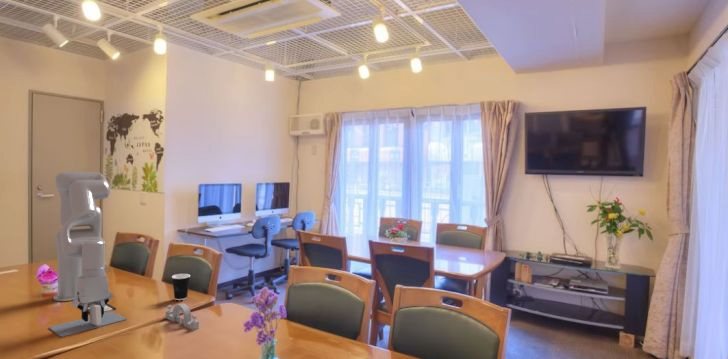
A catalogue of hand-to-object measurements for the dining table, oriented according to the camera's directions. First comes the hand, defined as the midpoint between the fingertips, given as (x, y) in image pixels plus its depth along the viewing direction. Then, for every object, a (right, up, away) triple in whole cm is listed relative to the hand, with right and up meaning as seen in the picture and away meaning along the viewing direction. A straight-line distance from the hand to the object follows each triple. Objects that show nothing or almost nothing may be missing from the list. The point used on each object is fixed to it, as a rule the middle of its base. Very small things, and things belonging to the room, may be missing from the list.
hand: (92, 318), depth 158 cm
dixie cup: (+20, -2, +31) cm, 37 cm away
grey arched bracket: (+33, -4, +3) cm, 33 cm away
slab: (0, +2, 0) cm, 2 cm away
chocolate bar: (-11, -2, +18) cm, 21 cm away
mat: (-1, -2, 0) cm, 3 cm away
